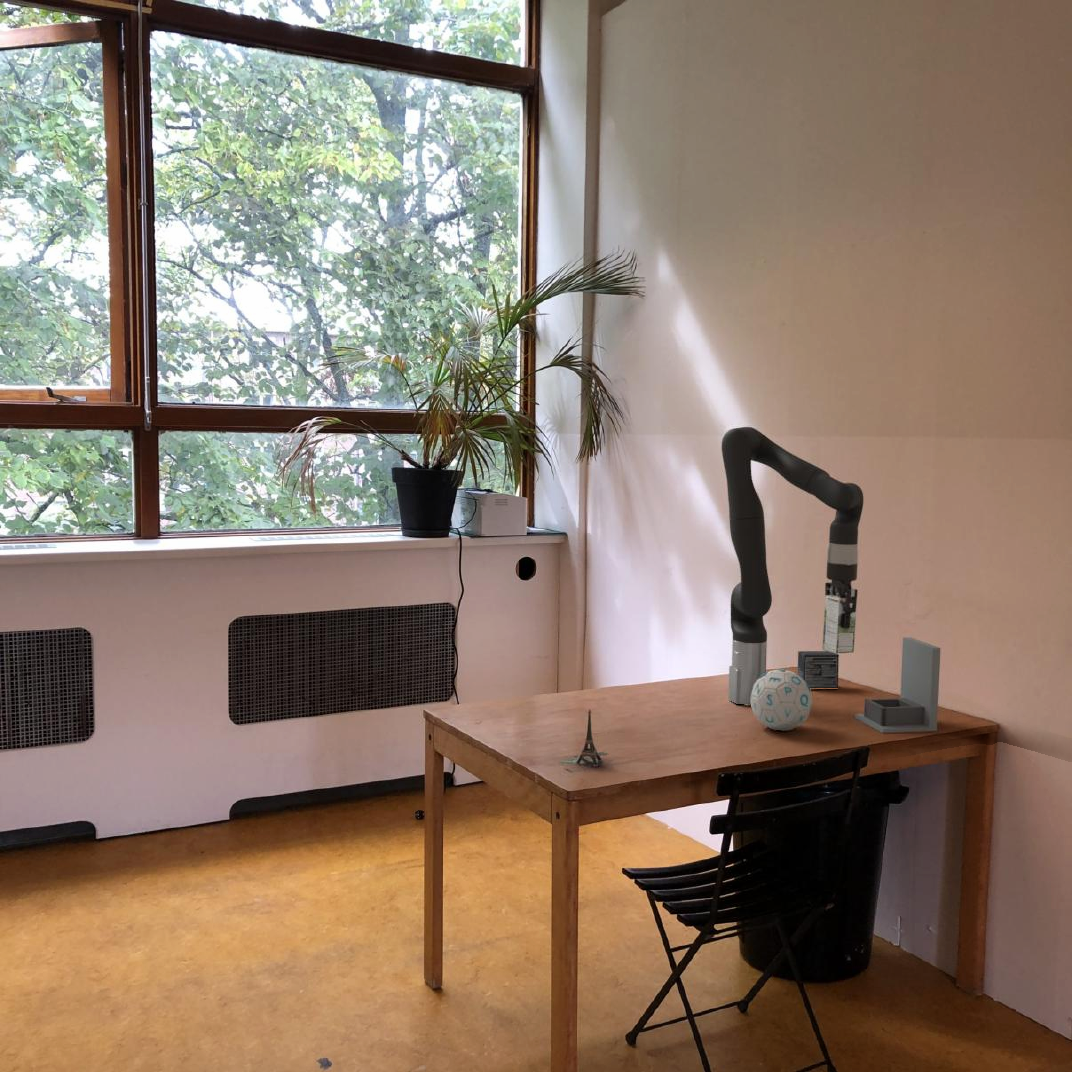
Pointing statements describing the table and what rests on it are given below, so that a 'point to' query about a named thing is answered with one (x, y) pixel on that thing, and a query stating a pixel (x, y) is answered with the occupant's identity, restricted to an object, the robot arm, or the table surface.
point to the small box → (819, 668)
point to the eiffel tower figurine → (586, 751)
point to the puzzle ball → (781, 700)
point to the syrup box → (837, 627)
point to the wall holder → (909, 693)
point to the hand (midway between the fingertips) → (839, 625)
